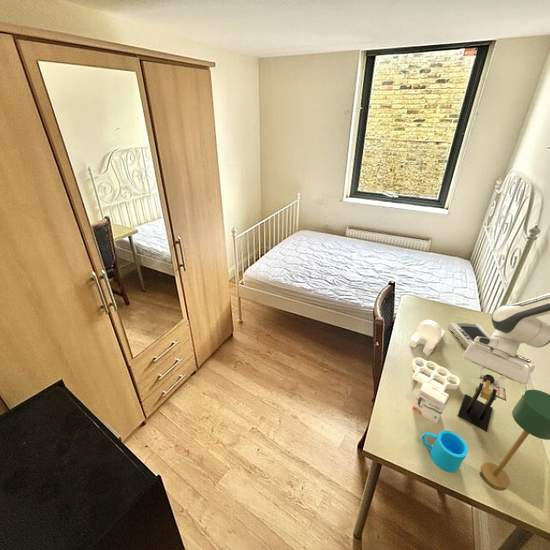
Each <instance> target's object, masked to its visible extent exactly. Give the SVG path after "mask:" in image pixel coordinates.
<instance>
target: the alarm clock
mask: <svg viewBox="0 0 550 550" xmlns="http://www.w3.org/2000/svg"><path fill="white" fill-rule="evenodd" d="M447 328H448V330H449V329H450V330H451V331H452V332H453V333H454V334H453V333H452V332H451V331H450V330H449V331H450V332H451V333H452V334H453V335H454V337H455V338H456V337H457V338H458V339H459V340H458V339H457V338H456V339H457V340H458V341H459V342H460V344H461V345H462V344H463V345H462V346H463V347H464V348H465V350H466V349H467V347H468V346H469V345H470V344H471V343H473V342H474V339H475V338H476V337H486V338H490V337H491V335H492V334H490V333H489V332H487V330H485V329H484V328H483V326H481V324H478V323H474V324H473V323H467V322H466V323H465V322H459V323H458V322H457V323H456V322H451V321H450V322H449V324H448V326H447Z"/></svg>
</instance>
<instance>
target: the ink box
mask: <svg viewBox="0 0 550 550" xmlns="http://www.w3.org/2000/svg"><path fill="white" fill-rule="evenodd" d="M450 396H451V395H449V393H447V392H445V391H444V392H443V391H441V390H439V389H438V388H436V387H434V386H432V385H430V384H429V383H426V382H424V383H423V384H421V386H420V388H419V391H418V394H417V396H416V398H415V401H414V403H413V406H412V410H413V411H415V412H417V413H418V414H420V415H421V416H423V417H424V418H426V419H428V420H429V421H431V422H433V423H434V424H437V423H438V422H439V420H440V418H441V416H442V414H443V413H444V410H445V408H446V406H447V404H448V402H449V399H450Z"/></svg>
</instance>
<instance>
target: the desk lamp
mask: <svg viewBox="0 0 550 550" xmlns="http://www.w3.org/2000/svg"><path fill="white" fill-rule="evenodd" d="M511 415H512V418H513V420H514V422H515V423H516V424H517V425H518V426H519V428H521V429H522V431H521V433H520V435H519V436H518V437H517V439H516V440H515V442H514V443H513V444H512V446H511V447H510V449H509V450H508V451H507V453H506V454H505V455H504V457H503V458H502V459H501V461H500V462H499V464H498V465H497V464H495V463H493V462H489V461H487V462H483V463H482V465H481V466H480V471H479V475H480V477H481V479H482V480H483V481H484V483H485V484H486V485H487V486H489V487H491V488H492V489H494V490H495V491H496V490H497V491H501V492H502V491H505V490H507V488H508V487H509V486H510V478H509V476H508V475H507V473H506V471H504V469H505V467H506V466H507V464H508V463H509V462H510V461H511V459H512V458H513V456H514V455H515V454H516V452H517V451H518V450H519V448H520V447H521V446H522V444H523V443H524V442H525V441H526V439H527V438H528V436H529V435H530V436H533V437H535V438H537V439H541V440H546V441H550V394H549V393H547V392H545V391H542V390H539V389H527V390H525V391H524V392H523V394H522V395H521V397H520V399H519V400H518V401H517V403H516V405H515V406H514V407H513V409H512V411H511Z"/></svg>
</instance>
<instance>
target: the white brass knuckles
mask: <svg viewBox="0 0 550 550" xmlns="http://www.w3.org/2000/svg"><path fill="white" fill-rule="evenodd" d="M428 367H430V368H432V369H430V368H428ZM411 369H412V370H413V372H414V373H413V374H412V376H411V379H412V380H413V381H416V382H417V383H418V384H421V385H423V383H424V382H426V383H429V384H430V385H432V386H434V387H436V388H438V389H439V390H441V391H443V392H445V391H446V390H447V389H450V390H457V389H458V388H459V386H460V385H461V379H460V378H459V377H458V376H457V375H454V374H453V373H451V372H450V371H449V369H447V368H446V367H444V366H441V365H439V364H438V363H436V362H434V361H432V360H427V359H423V358H422V357H414V358H413V360H412V363H411ZM440 373H441V374H443V375H441V374H440ZM425 374H426V375H425ZM434 379H436V380H434ZM438 381H439V382H438ZM449 381H452V382H453V383H451V382H449ZM440 382H441V383H440Z"/></svg>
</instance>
